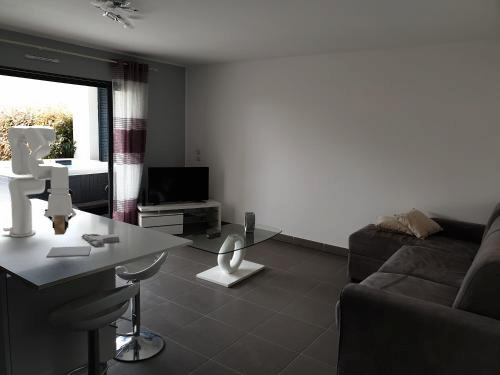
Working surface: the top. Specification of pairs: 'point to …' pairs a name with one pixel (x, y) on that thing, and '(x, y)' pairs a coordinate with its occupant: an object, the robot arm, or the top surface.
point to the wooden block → (59, 225)
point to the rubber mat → (69, 251)
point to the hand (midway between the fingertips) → (60, 229)
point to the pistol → (100, 239)
